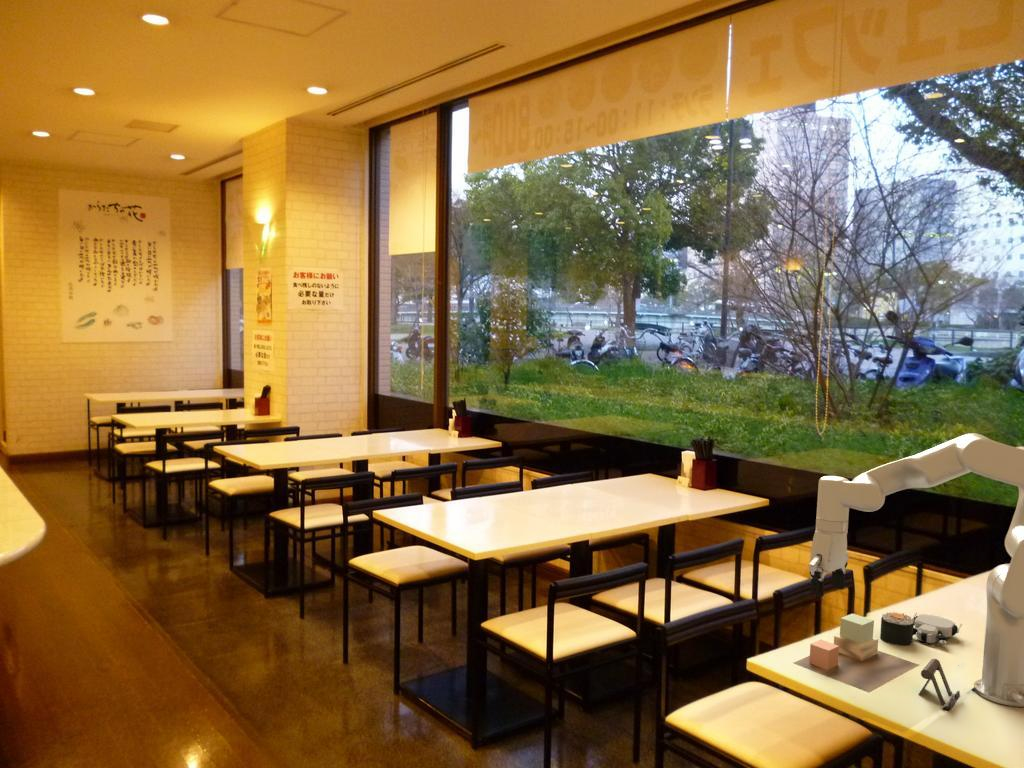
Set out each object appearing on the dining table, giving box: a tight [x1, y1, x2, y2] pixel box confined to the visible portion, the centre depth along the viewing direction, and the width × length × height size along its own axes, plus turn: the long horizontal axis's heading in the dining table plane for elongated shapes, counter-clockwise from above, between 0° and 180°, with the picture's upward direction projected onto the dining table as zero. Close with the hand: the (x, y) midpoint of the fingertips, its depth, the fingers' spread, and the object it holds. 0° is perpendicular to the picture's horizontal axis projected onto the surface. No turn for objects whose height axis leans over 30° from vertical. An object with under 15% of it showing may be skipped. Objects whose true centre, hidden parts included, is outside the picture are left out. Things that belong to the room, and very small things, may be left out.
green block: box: [839, 613, 875, 644], centre depth 214 cm, size 6×6×5 cm
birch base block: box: [833, 633, 879, 661], centre depth 214 cm, size 8×8×4 cm
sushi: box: [879, 611, 915, 647], centre depth 223 cm, size 8×8×8 cm
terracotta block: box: [809, 639, 839, 670], centre depth 206 cm, size 5×5×5 cm
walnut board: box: [793, 650, 920, 693], centre depth 207 cm, size 20×26×1 cm
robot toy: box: [912, 612, 963, 645], centre depth 229 cm, size 12×4×15 cm
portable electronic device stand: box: [918, 658, 961, 712], centre depth 190 cm, size 9×8×8 cm
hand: (827, 591), depth 205 cm, fingers open, 9 cm apart
